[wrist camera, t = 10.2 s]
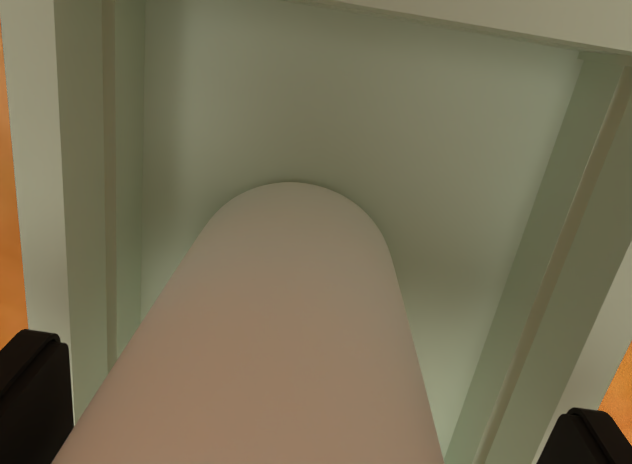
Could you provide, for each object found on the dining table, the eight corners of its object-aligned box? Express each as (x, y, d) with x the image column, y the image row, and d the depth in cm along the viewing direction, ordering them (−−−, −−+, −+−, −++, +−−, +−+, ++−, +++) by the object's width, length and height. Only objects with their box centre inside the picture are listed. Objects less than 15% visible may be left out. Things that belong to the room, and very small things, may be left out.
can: (157, 272, 16) (-213, 789, 5) (285, 132, 14) (127, 488, 3) (299, 382, 18) (246, 956, 7) (433, 269, 16) (660, 819, 5)
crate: (120, -68, 13) (-13, -126, 8) (621, 19, 14) (791, 14, 9) (121, 431, 20) (50, 566, 15) (452, 478, 21) (490, 625, 16)
